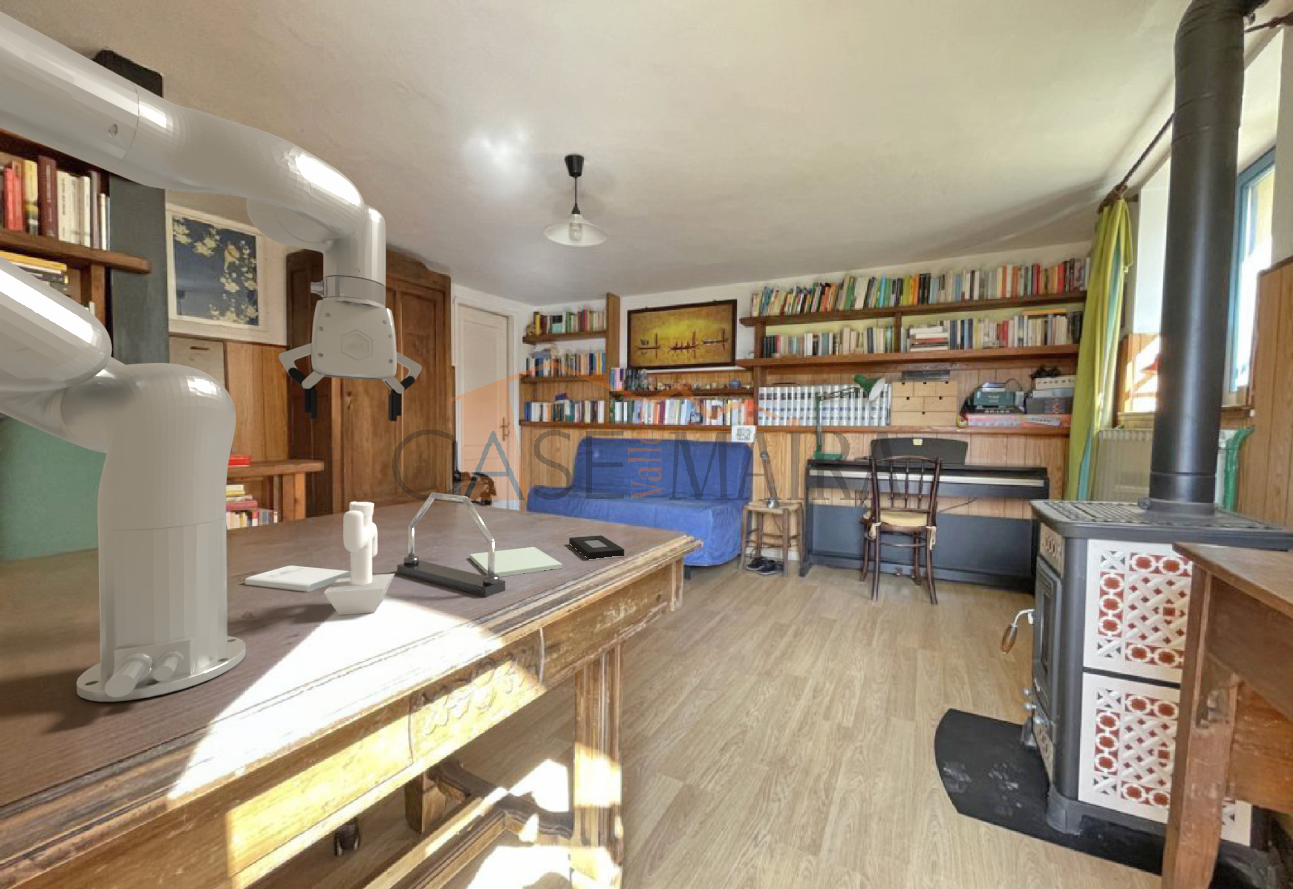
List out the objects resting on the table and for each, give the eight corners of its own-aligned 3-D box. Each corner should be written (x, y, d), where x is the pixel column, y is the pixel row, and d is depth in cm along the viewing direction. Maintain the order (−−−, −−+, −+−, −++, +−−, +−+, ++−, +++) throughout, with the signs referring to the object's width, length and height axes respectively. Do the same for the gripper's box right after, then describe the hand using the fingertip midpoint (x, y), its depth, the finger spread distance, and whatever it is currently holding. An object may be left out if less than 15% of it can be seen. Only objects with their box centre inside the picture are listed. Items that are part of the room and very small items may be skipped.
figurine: (396, 595, 77) (396, 496, 76) (382, 618, 68) (382, 506, 67) (342, 598, 75) (342, 497, 74) (320, 622, 66) (320, 507, 65)
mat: (562, 568, 93) (562, 563, 93) (490, 578, 86) (490, 573, 86) (533, 550, 106) (534, 546, 106) (469, 558, 99) (469, 554, 99)
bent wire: (506, 590, 80) (507, 499, 80) (486, 597, 77) (487, 502, 76) (417, 567, 92) (417, 487, 91) (396, 573, 88) (396, 490, 88)
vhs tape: (601, 544, 116) (601, 535, 115) (624, 559, 102) (624, 549, 102) (569, 546, 112) (569, 537, 112) (588, 562, 99) (589, 552, 99)
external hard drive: (308, 595, 78) (244, 587, 81) (351, 579, 86) (292, 573, 89) (308, 584, 78) (244, 577, 81) (351, 570, 86) (292, 563, 89)
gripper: (277, 279, 63) (277, 418, 63) (427, 302, 73) (426, 421, 73) (279, 292, 69) (279, 418, 70) (417, 311, 79) (416, 421, 79)
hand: (354, 420), depth 71 cm, fingers open, 9 cm apart
